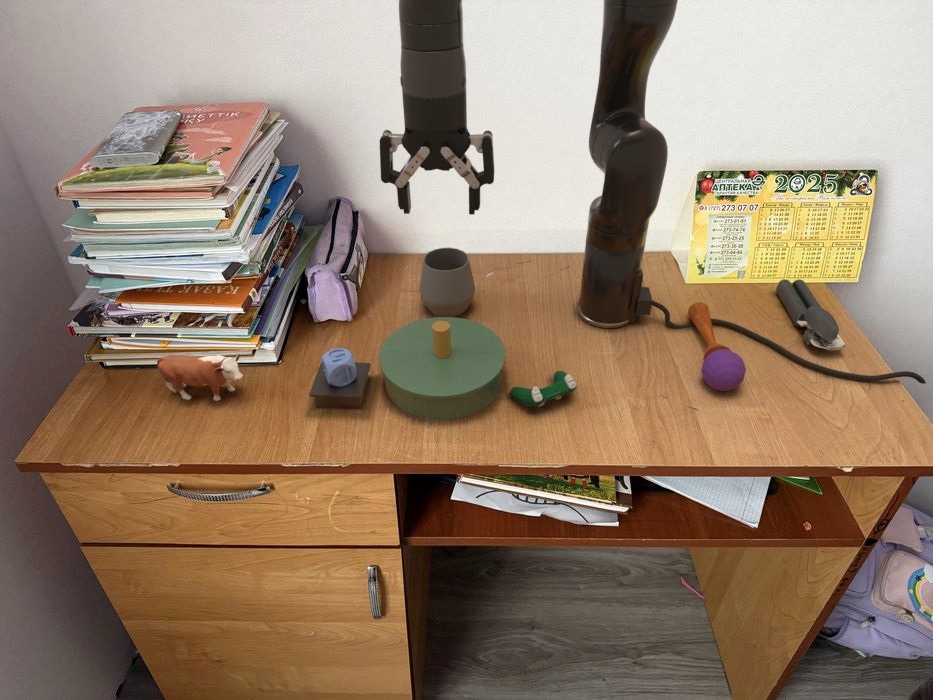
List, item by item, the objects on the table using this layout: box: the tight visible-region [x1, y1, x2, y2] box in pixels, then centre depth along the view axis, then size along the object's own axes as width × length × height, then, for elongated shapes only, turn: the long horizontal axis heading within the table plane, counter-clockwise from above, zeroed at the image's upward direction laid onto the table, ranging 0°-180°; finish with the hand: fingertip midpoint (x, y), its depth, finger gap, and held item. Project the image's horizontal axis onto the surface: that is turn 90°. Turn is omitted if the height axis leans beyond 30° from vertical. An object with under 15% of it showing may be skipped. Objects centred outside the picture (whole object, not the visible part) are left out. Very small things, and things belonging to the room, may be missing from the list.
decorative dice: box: [321, 347, 357, 387], centre depth 96 cm, size 4×4×4 cm
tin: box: [383, 368, 504, 421], centre depth 100 cm, size 18×18×5 cm
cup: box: [418, 247, 476, 317], centre depth 113 cm, size 10×9×10 cm
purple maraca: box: [687, 301, 747, 392], centre depth 104 cm, size 6×6×20 cm
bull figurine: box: [156, 353, 245, 402], centre depth 97 cm, size 4×13×8 cm, turn 78°
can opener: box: [775, 278, 846, 351], centre depth 109 cm, size 19×5×6 cm, turn 178°
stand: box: [309, 361, 371, 410], centre depth 98 cm, size 8×8×4 cm
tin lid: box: [378, 316, 506, 399], centre depth 97 cm, size 18×18×6 cm
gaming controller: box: [508, 370, 578, 408], centre depth 97 cm, size 9×4×6 cm
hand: (439, 211), depth 88 cm, fingers open, 8 cm apart
